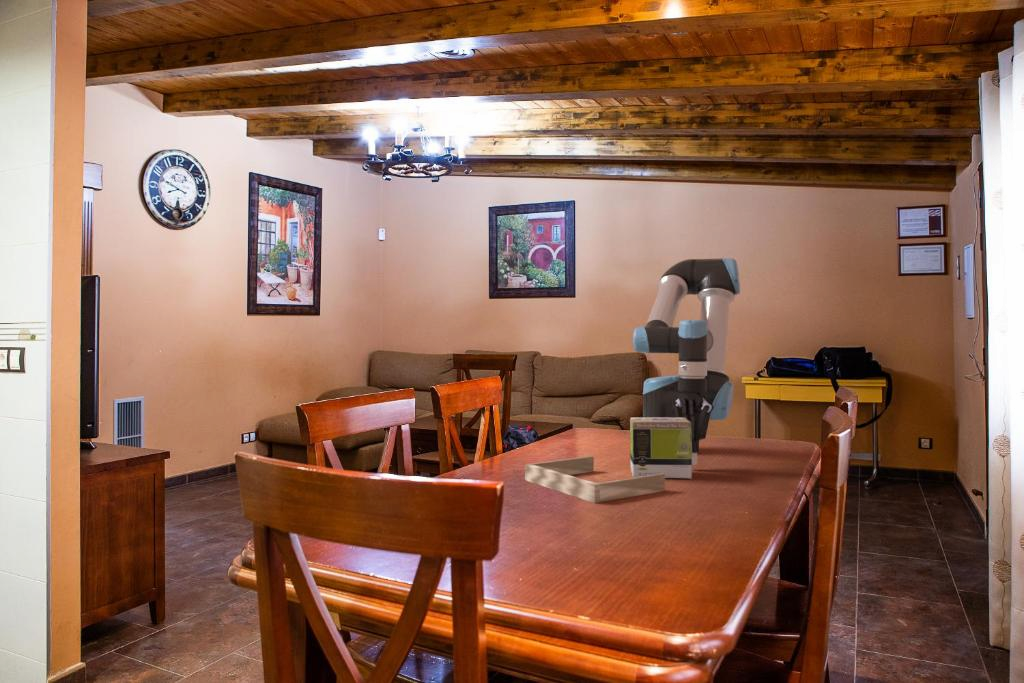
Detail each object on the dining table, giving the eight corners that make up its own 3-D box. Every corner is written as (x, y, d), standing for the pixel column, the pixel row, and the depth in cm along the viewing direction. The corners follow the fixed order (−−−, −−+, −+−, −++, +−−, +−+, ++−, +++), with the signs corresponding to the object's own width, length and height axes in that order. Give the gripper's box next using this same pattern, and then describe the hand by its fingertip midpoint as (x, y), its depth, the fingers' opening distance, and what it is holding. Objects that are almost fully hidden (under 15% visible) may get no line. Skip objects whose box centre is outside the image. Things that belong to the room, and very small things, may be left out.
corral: (524, 480, 180) (525, 464, 179) (591, 470, 191) (591, 455, 191) (594, 503, 157) (594, 484, 157) (664, 490, 169) (664, 473, 169)
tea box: (686, 471, 191) (687, 416, 191) (692, 480, 181) (692, 421, 181) (629, 470, 193) (629, 415, 192) (632, 478, 183) (632, 420, 182)
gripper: (664, 376, 196) (663, 461, 196) (701, 379, 185) (700, 470, 186) (683, 375, 200) (682, 459, 201) (721, 378, 189) (720, 466, 190)
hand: (691, 464), depth 193 cm, fingers closed
